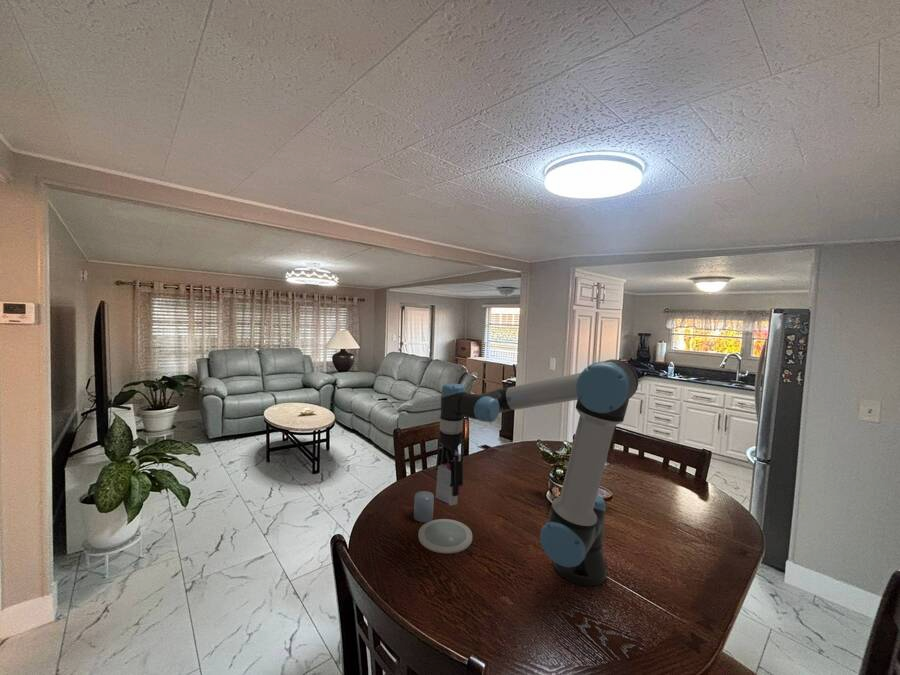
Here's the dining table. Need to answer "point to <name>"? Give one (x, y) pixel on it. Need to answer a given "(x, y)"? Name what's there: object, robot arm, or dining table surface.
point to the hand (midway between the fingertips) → (447, 498)
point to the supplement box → (444, 483)
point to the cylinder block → (423, 506)
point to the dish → (445, 536)
